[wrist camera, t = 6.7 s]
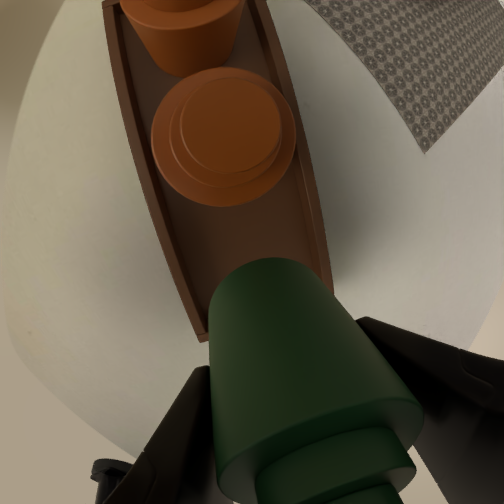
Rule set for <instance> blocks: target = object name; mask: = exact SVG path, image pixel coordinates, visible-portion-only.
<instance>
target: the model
mask: <svg viewBox="0 0 504 504" xmlns="http://www.w3.org/2000/svg"><path fill="white" fill-rule="evenodd" d="M305 1H306V2H307V3H308V4H309V5H310V6H311V7H312V8H314V9H315V10H316V11H317V12H318V13H319V14H320V15H321V16H322V17H323V18H324V19H325V20H326V21H327V22H328V23H329V25H330V26H331V27H332V28H333V29H334V30H335V31H336V32H337V33H338V34H339V35H340V36H341V37H342V39H343V40H344V41H345V42H346V43H347V44H348V45H349V46H350V48H351V49H352V50H353V51H354V52H355V53H356V55H357V56H358V57H359V58H360V60H361V61H362V62H363V63H364V64H365V66H366V67H367V68H368V70H369V71H370V72H371V73H372V75H373V76H374V77H375V79H376V80H377V81H378V83H379V84H380V85H381V87H382V88H383V90H384V91H385V92H386V94H387V95H388V97H389V98H390V99H391V101H392V102H393V104H394V105H395V107H396V108H397V110H398V111H399V113H400V114H401V116H402V118H403V119H404V121H405V122H406V124H407V125H408V127H409V129H410V130H411V132H412V134H413V135H414V137H415V139H416V140H417V142H418V144H419V146H420V147H421V149H422V151H423V153H424V154H425V153H426V152H427V151H428V150H429V149H430V148H431V146H432V145H433V144H434V143H435V142H436V141H437V140H438V139H439V138H440V137H441V136H442V135H443V134H444V133H445V131H446V130H447V129H448V128H449V127H450V126H451V125H452V124H453V123H454V122H455V121H456V119H457V118H458V117H459V116H460V115H461V114H462V113H463V112H464V111H465V109H466V108H467V107H468V106H469V105H470V104H471V103H472V102H473V100H474V99H475V98H476V97H477V96H478V95H479V93H480V92H481V91H482V90H483V89H484V88H485V86H486V85H487V84H488V83H489V82H490V81H491V79H492V78H493V77H494V76H495V75H496V73H497V72H498V71H499V70H500V69H501V67H502V66H503V65H504V9H503V7H502V6H501V4H500V3H499V1H498V0H305Z"/></svg>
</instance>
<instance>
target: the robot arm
mask: <svg viewBox="0 0 504 504" xmlns="http://www.w3.org/2000/svg"><path fill="white" fill-rule="evenodd" d="M355 322H356V323H357V324H358V325H359V327H360V328H361V329H362V330H363V331H364V333H365V334H366V335H367V336H368V338H369V339H370V340H371V341H372V343H373V344H374V345H375V346H376V348H377V349H378V350H379V351H380V353H381V354H382V355H383V357H384V358H385V359H386V360H387V362H388V363H389V364H390V365H391V367H392V368H393V369H394V371H395V372H396V373H397V374H398V376H399V377H400V378H401V380H402V381H403V382H404V384H405V385H406V386H407V387H408V389H409V390H410V391H411V393H412V394H413V395H414V397H415V398H416V399H417V401H418V402H419V403H420V405H421V406H422V408H423V411H424V424H423V427H422V430H421V432H420V434H419V436H418V438H417V439H416V441H415V442H414V444H413V446H414V447H415V449H416V450H417V452H418V454H419V455H420V457H421V459H422V460H423V462H424V463H425V465H426V467H427V468H428V470H429V471H430V473H431V475H432V476H433V478H434V480H435V481H436V483H437V484H438V486H439V488H440V490H441V492H442V493H443V495H444V497H445V498H446V500H447V502H448V503H449V504H504V360H498V359H495V358H490V357H486V356H482V355H479V354H476V353H472V352H469V351H466V350H463V349H458V348H457V347H454V346H451V345H448V344H445V343H442V342H439V341H436V340H433V339H430V338H427V337H424V336H421V335H419V334H416V333H413V332H410V331H407V330H404V329H401V328H398V327H395V326H393V325H390V324H387V323H384V322H381V321H378V320H376V319H373V318H370V317H367V316H365V317H362V318H360V319H357V320H355ZM91 479H92V480H94V481H96V482H98V483H99V484H98V490H97V495H96V501H95V504H234V503H233V501H232V500H230V499H229V498H227V497H226V496H225V495H224V494H222V492H221V491H220V489H219V488H218V485H217V481H216V469H215V456H214V442H213V427H212V409H211V389H210V367H209V366H208V365H206V366H201V367H197V368H195V369H194V371H193V372H192V374H191V375H190V377H189V379H188V380H187V382H186V383H185V385H184V387H183V388H182V390H181V391H180V393H179V395H178V396H177V398H176V399H175V401H174V402H173V404H172V406H171V407H170V409H169V410H168V412H167V414H166V415H165V417H164V418H163V420H162V421H161V423H160V424H159V426H158V428H157V429H156V431H155V432H154V434H153V435H152V437H151V439H150V440H149V442H148V443H147V445H146V446H145V448H144V452H141V454H140V455H139V457H138V459H137V460H136V462H135V463H134V464H133V466H132V467H131V469H130V470H129V472H128V473H127V474H126V473H124V472H122V471H120V470H118V469H116V468H114V467H108V468H106V469H103V470H101V471H99V472H97V473H95V474H92V475H91Z"/></svg>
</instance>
